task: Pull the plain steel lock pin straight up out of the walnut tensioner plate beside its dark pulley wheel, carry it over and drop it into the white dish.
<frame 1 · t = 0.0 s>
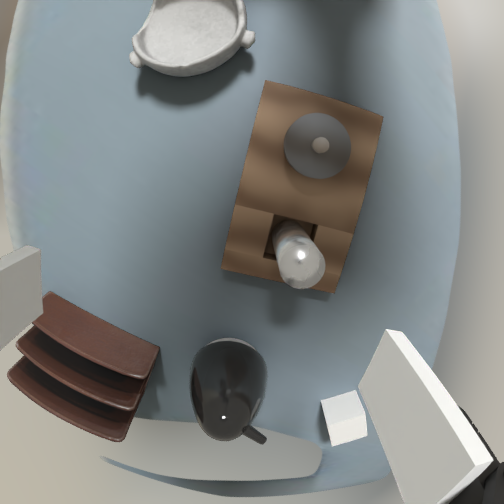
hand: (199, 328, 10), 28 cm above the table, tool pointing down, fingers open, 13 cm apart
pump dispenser: (231, 356, 43), on the table
lock pin: (288, 236, 38), resting on tensioner plate
tensioner plate: (300, 187, 36), on the table
dish: (196, 32, 31), on the table
white cube: (340, 405, 46), on the table
letter holder: (97, 341, 43), on the table
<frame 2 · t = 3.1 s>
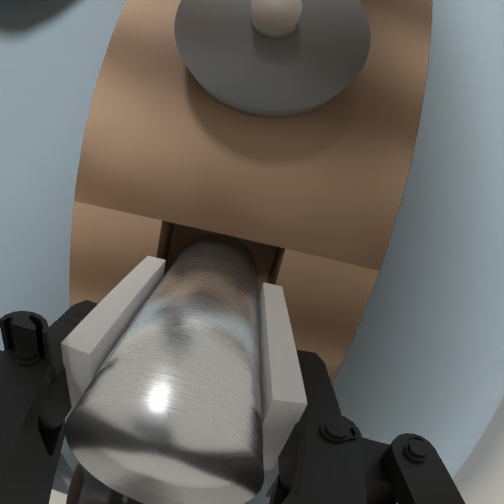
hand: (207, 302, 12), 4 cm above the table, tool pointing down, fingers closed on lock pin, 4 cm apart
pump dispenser: (147, 458, 21), on the table
lock pin: (217, 272, 16), point 1 cm above the table, touching gripper
tensioner plate: (244, 153, 15), on the table
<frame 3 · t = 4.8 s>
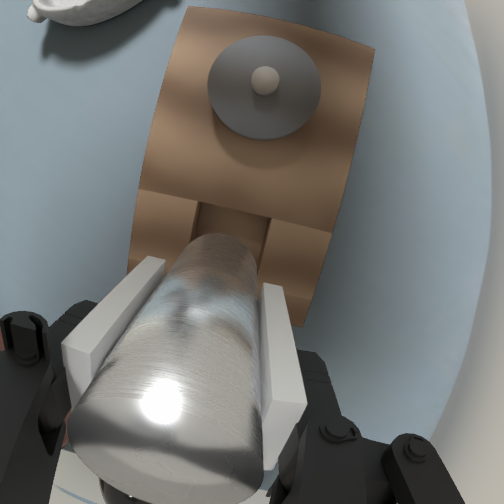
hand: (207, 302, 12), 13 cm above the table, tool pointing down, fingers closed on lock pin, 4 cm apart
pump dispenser: (166, 400, 30), on the table
lock pin: (217, 271, 16), point 9 cm above the table, touching gripper
tensioner plate: (247, 161, 23), on the table
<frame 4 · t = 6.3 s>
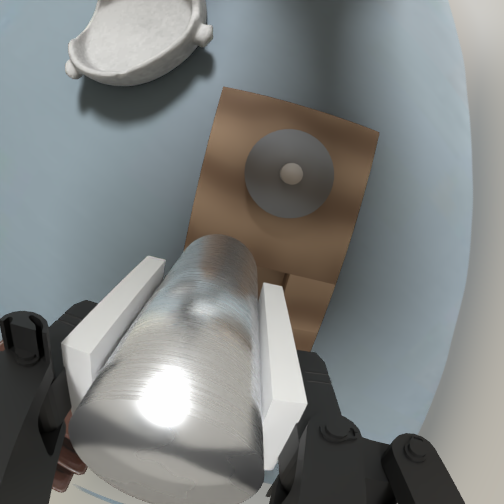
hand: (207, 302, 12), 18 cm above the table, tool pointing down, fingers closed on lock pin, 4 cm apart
lock pin: (217, 272, 16), point 14 cm above the table, touching gripper
tensioner plate: (269, 224, 29), on the table
dish: (148, 31, 24), on the table
letter holder: (57, 386, 36), on the table
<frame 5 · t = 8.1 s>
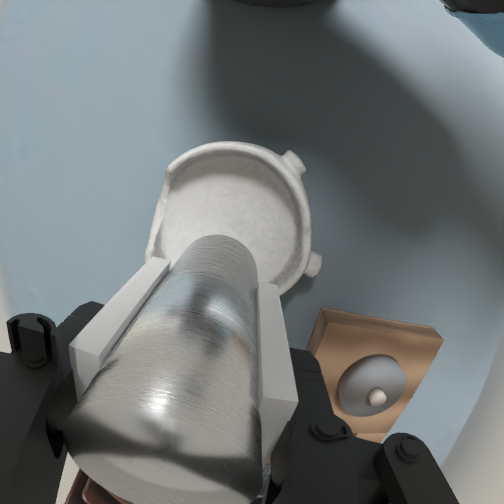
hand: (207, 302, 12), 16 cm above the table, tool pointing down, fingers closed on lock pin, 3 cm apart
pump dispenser: (265, 492, 40), on the table
lock pin: (217, 273, 16), point 12 cm above the table, touching gripper
tensioner plate: (344, 396, 33), on the table
dish: (233, 222, 28), on the table
letter holder: (141, 482, 40), on the table
when the fingers open (10 cm above the table, at t = 9.6 s): lock pin drops 2 cm, resting on dish.
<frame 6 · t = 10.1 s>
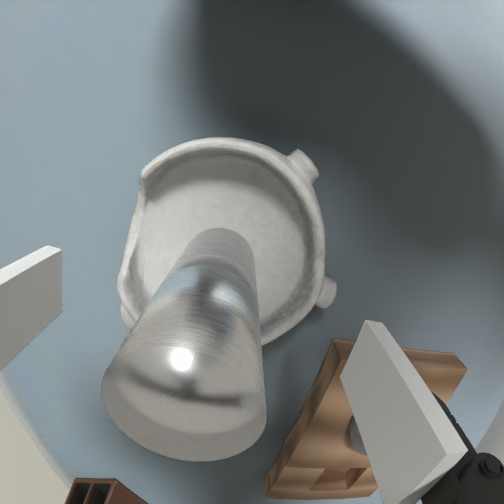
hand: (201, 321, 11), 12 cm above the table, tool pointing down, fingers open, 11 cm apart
lock pin: (218, 262, 17), point 5 cm above the table, touching dish
tensioner plate: (354, 430, 28), on the table
dish: (227, 238, 22), on the table, touching lock pin
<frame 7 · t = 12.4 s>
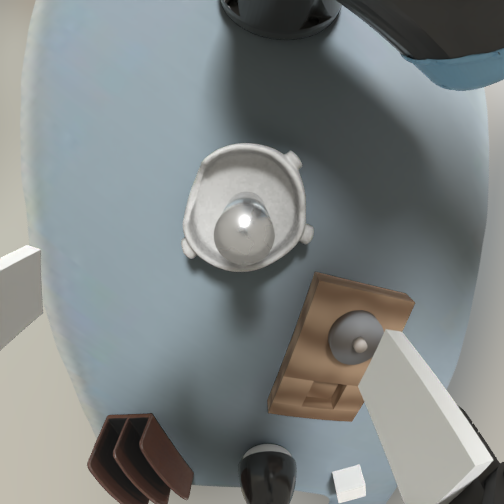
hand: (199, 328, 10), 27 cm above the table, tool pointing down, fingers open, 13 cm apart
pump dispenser: (267, 451, 49), on the table
lock pin: (246, 211, 31), point 5 cm above the table, touching dish
tensioner plate: (335, 352, 42), on the table
dish: (248, 203, 36), on the table, touching lock pin
white cube: (346, 473, 52), on the table
letter holder: (153, 445, 49), on the table
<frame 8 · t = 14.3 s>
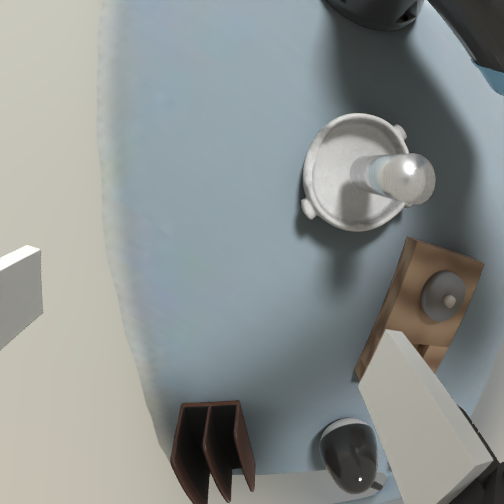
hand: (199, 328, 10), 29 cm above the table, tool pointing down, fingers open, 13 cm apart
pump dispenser: (342, 427, 49), on the table
lock pin: (366, 173, 32), point 5 cm above the table, touching dish
tensioner plate: (417, 315, 42), on the table
dish: (353, 171, 37), on the table, touching lock pin
letter holder: (221, 436, 50), on the table
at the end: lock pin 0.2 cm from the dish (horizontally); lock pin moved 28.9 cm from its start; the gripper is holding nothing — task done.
